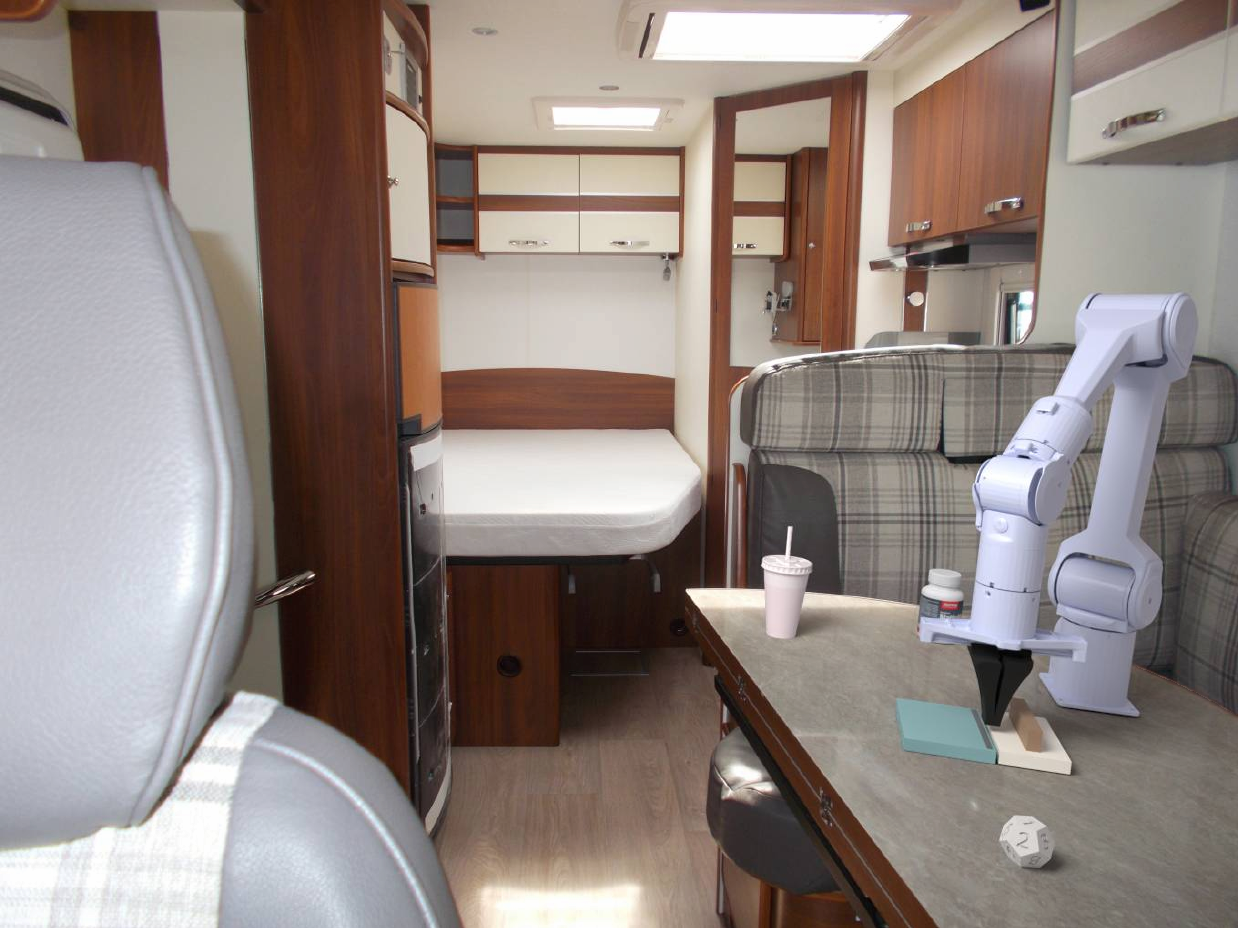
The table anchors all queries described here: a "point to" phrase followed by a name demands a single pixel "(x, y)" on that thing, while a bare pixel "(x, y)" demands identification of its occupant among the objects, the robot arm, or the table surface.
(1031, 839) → the game die
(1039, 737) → the cream block with bar
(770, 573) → the smoothie
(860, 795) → the table surface
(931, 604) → the pill bottle
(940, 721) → the teal flat block
